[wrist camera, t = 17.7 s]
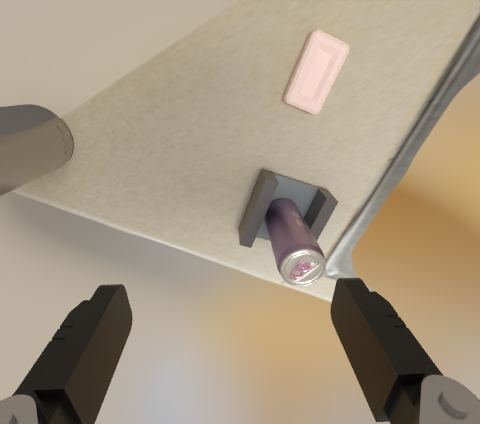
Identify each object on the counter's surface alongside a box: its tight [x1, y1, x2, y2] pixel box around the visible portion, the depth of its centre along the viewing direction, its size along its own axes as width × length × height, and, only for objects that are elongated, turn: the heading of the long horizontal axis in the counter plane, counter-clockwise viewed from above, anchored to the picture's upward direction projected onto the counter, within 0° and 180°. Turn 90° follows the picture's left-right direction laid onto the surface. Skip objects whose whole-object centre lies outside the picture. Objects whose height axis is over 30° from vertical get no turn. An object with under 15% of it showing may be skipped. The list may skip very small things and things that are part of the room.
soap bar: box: [283, 30, 349, 115], centre depth 35 cm, size 5×9×2 cm, turn 159°
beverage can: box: [264, 199, 326, 286], centre depth 38 cm, size 6×6×15 cm
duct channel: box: [239, 169, 338, 248], centre depth 43 cm, size 12×12×5 cm
